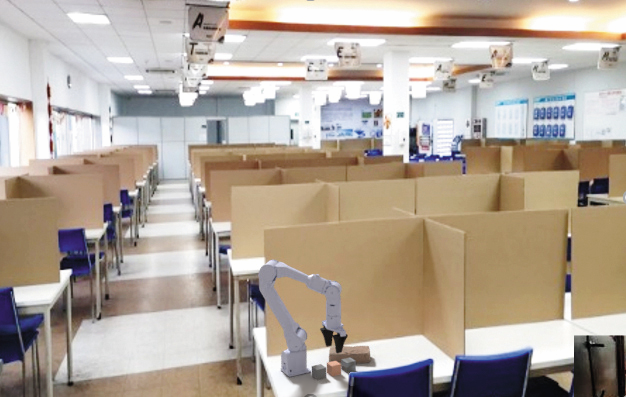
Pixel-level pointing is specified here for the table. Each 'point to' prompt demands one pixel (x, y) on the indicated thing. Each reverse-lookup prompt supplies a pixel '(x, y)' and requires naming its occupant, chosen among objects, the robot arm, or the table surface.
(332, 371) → the terracotta block
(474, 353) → the table surface
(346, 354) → the brick
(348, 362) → the slate block
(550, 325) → the table surface
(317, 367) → the gray block
